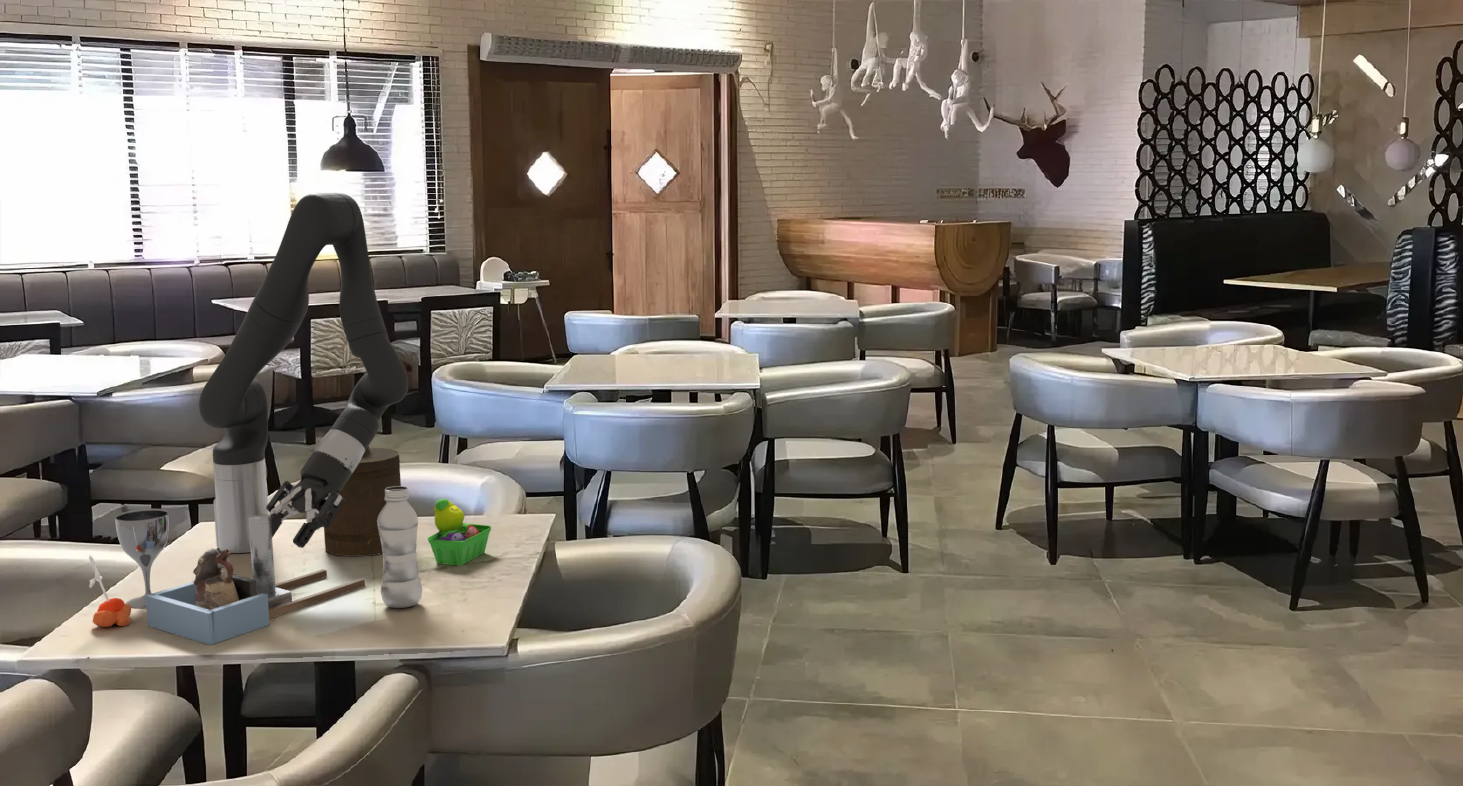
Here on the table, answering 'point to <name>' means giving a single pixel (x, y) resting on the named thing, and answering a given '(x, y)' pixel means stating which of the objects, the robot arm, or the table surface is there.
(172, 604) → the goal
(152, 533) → the wine glass
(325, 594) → the lane rails
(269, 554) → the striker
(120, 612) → the orange lumpy food
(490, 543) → the table surface
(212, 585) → the figurine
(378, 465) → the wooden container
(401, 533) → the plastic bottle
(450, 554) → the fruit basket
